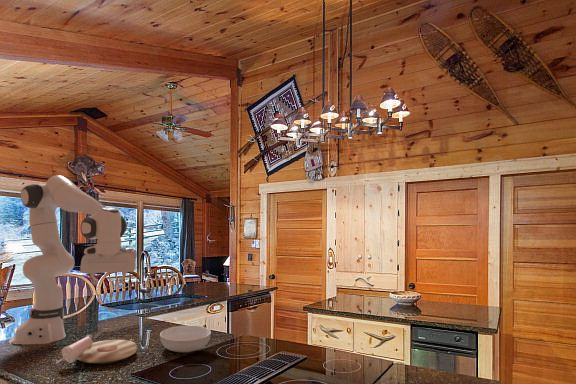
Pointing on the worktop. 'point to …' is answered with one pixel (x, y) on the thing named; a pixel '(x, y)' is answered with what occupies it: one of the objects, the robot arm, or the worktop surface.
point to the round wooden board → (108, 351)
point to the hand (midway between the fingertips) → (108, 283)
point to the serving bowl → (185, 338)
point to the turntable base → (106, 362)
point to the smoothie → (75, 349)
